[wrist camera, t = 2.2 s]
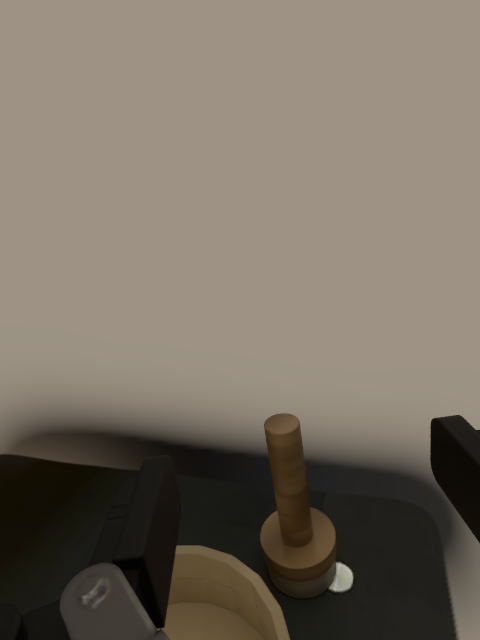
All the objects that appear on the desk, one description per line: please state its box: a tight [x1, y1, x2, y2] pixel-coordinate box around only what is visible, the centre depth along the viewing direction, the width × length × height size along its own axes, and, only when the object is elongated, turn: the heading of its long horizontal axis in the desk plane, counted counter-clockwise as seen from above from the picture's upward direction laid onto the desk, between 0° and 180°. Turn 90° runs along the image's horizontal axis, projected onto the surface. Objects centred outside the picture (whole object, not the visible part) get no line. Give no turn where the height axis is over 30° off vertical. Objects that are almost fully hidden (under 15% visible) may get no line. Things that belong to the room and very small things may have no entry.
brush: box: [260, 414, 337, 599], centre depth 27 cm, size 5×5×12 cm
